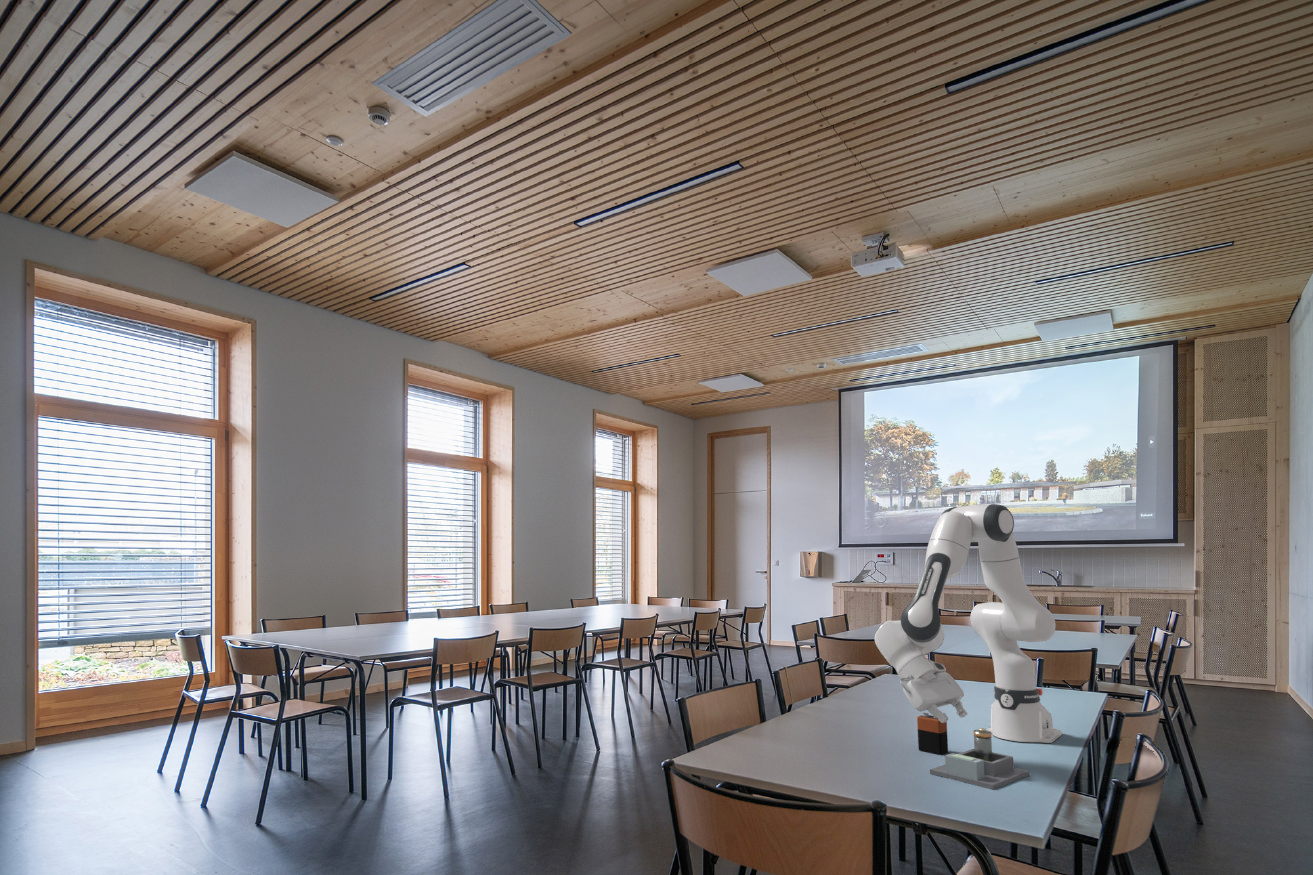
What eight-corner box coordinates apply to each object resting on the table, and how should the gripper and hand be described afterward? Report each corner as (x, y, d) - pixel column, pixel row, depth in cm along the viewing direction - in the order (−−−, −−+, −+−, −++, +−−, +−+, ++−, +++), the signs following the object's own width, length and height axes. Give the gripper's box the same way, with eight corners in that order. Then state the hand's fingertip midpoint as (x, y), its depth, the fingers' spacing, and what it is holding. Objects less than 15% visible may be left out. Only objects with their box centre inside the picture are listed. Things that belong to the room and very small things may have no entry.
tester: (967, 761, 198) (966, 740, 199) (1029, 775, 186) (1027, 753, 187) (930, 773, 187) (929, 751, 188) (993, 789, 175) (991, 765, 176)
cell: (980, 764, 191) (978, 726, 193) (996, 768, 188) (994, 729, 189) (972, 766, 189) (970, 728, 190) (987, 770, 185) (985, 731, 187)
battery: (941, 755, 204) (939, 716, 206) (917, 750, 209) (916, 712, 211) (948, 752, 207) (947, 714, 208) (925, 747, 212) (924, 710, 213)
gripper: (904, 671, 196) (941, 716, 188) (945, 663, 209) (982, 705, 200) (890, 686, 199) (926, 732, 190) (932, 678, 212) (967, 720, 203)
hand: (955, 718), depth 195 cm, fingers open, 8 cm apart
